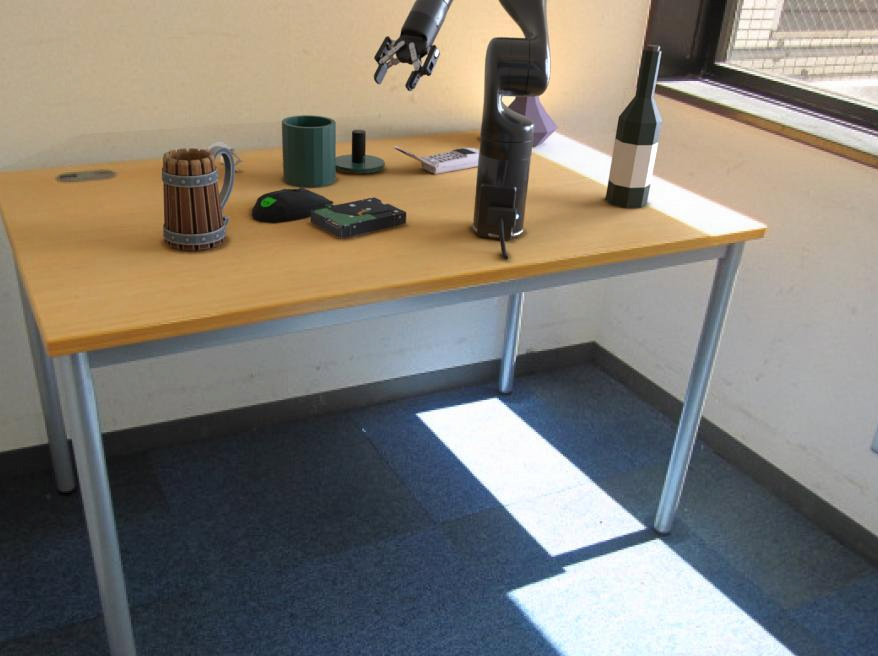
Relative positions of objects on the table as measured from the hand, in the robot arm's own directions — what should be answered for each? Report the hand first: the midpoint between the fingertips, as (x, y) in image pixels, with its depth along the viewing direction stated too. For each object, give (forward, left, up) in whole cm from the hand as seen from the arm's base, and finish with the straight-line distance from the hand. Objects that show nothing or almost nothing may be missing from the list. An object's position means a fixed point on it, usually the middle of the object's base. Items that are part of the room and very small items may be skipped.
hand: (392, 85), depth 191 cm
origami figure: (-20, +32, -17) cm, 41 cm away
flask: (+29, -26, -17) cm, 43 cm away
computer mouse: (-40, +9, -17) cm, 44 cm away
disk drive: (-43, -6, -17) cm, 46 cm away
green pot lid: (-8, +5, -16) cm, 18 cm away
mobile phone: (-1, -13, -17) cm, 21 cm away
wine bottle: (-10, -53, -17) cm, 56 cm away
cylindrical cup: (-20, +12, -17) cm, 28 cm away
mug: (-59, +17, -17) cm, 63 cm away
